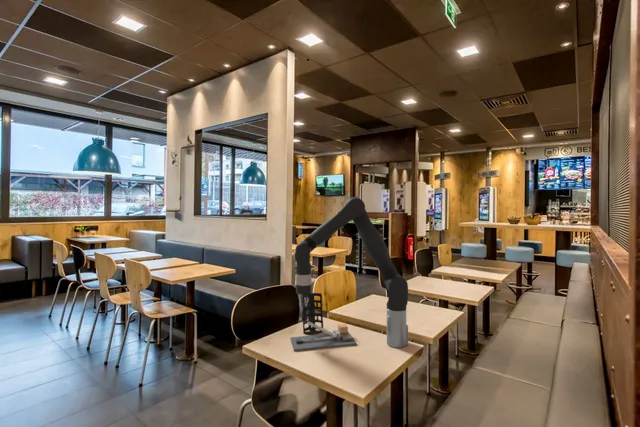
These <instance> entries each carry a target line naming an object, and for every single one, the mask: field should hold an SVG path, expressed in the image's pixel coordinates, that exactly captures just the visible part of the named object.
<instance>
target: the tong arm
mask: <svg viewBox="0 0 640 427" xmlns="http://www.w3.org/2000/svg"><path fill="white" fill-rule="evenodd" d="M299 321H300V322H301V323H303V322H304V323H306V324H307V325H308V326H309V325H311V327H312V326H313V327H315V328H317V329H316V330H318V331H320V330H321V331H323V332H322V333H324V334H329V335H331V336H332V335H333V334H334V333H332V331H330V330H328V329H326V328H324V327H323V328H322V327H321V326H319V325H317V324H316V323H315V324H313V323H311V322H309V321H308V319H307V320H306V319H302V316H301V317H299ZM306 324H305V325H306Z"/></svg>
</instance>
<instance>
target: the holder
mask: <svg viewBox="0 0 640 427" xmlns="http://www.w3.org/2000/svg"><path fill="white" fill-rule="evenodd" d="M307 296H308V298H309V301H308V303H309V305H308V311H307V318H306V320H307V321H309V322H311V323H313V324H315V325H316V323H320V325H321V326H320V327H322V328H324V316H323V296H322V293H319V292H311V293H310V294H308V295H307ZM315 297H319V299H315ZM319 305H320V306H319ZM316 310H319V311H320V313H318V312H317V313H316ZM319 317H320V318H319ZM305 325H306V323H304V322H302V330H303V334H304V335H318V334H321V333H324V332H323V331H321V330H318V329H317V328H315V327H313V326H311V325H308V326H307V327H306V326H305Z"/></svg>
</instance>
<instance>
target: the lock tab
mask: <svg viewBox="0 0 640 427" xmlns="http://www.w3.org/2000/svg"><path fill="white" fill-rule="evenodd" d="M337 328H338V329H337V330H338V331H339V332H340V333H348V332H349V326H348V325H347V324H346V323H340V324H338V325H337Z"/></svg>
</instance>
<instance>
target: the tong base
mask: <svg viewBox="0 0 640 427" xmlns="http://www.w3.org/2000/svg"><path fill="white" fill-rule="evenodd" d="M331 332H332V333H334V334H333V335H332V337H321V338H310V339H296V343H297V344H301V343H306V342H317V341H327V340H340V338H341V340H342V341H343V342H345V341H353V339H354V337H353V336H352V335H351V333H350V332H349V331H348V333H340V332H339V331H338V329H337V330H331Z"/></svg>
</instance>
